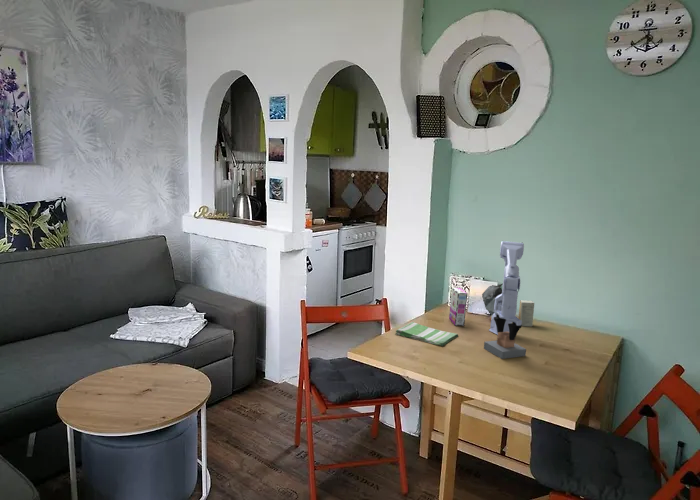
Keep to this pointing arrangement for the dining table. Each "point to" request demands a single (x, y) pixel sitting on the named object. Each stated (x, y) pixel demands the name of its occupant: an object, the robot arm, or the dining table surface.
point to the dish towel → (426, 334)
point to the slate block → (504, 350)
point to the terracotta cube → (504, 340)
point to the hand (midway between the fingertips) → (505, 336)
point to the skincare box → (526, 312)
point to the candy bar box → (458, 306)
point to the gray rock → (491, 297)
